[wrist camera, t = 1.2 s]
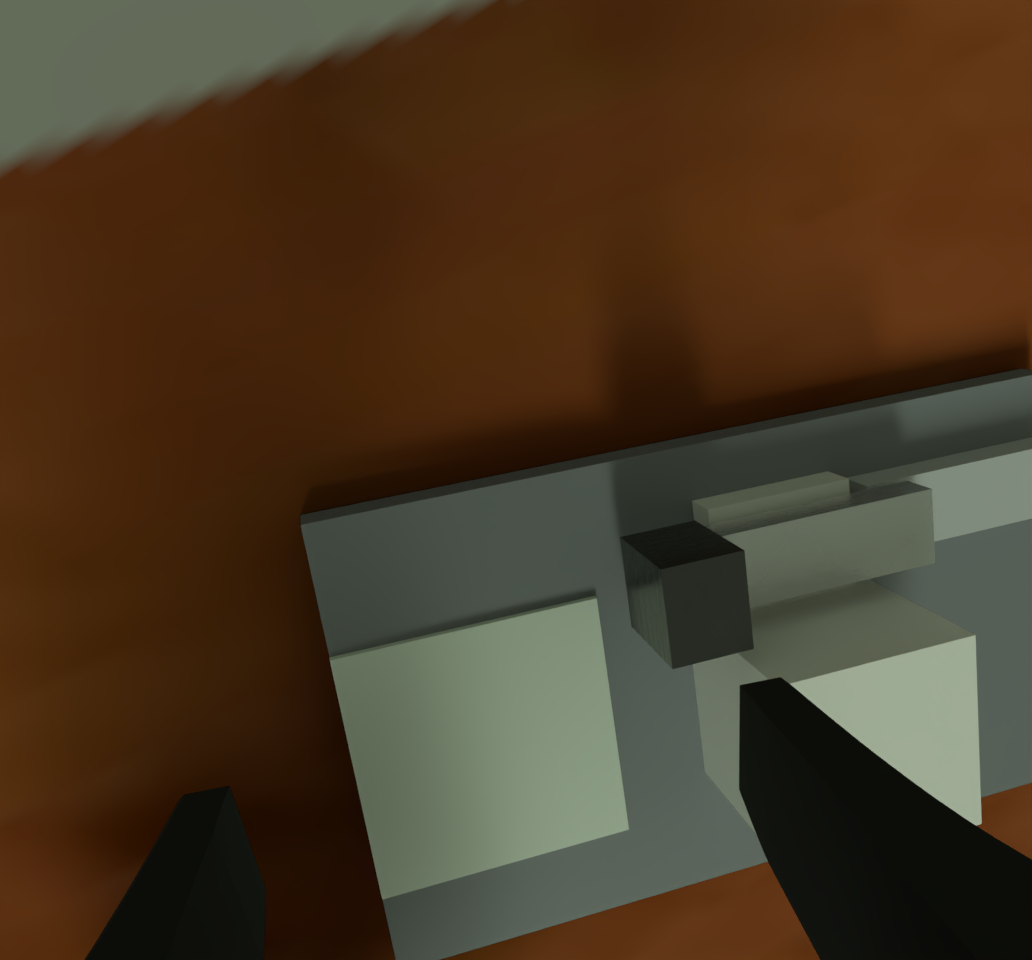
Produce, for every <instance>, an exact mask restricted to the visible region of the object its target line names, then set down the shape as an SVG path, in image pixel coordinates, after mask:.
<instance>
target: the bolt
mask: <svg viewBox="0 0 1032 960" xmlns="http://www.w3.org/2000/svg"><path fill="white" fill-rule="evenodd" d="M620 543H621V551H622V558H623V566H624V574H625V581H626V589H627V597H628V604H629V612H630V619H631V627H632V628H633V629H634V630H635V631H636V632H637V633H638V634H639V635H640V636H641V637H642V638H643V639H644V640H645V641H646V642H647V643H648V644H649V645H650V646H651V647H652V648H653V650H654V651H655V652H656V653H657V654H658V655H659V656H660V657H661V658H662V659H663V660H664V661H665V662H666V663H667V664H668V665H669V666H670V667H671V668H672V669H676V668H680V667H684V666H688V665H692V664H696V663H700V662H704V661H708V660H712V659H716V658H720V657H724V656H728V655H732V654H736V653H740V652H744V651H747V650H751V649H754V644H753V634H752V623H751V613H750V608H752V607H756V606H760V605H764V604H769V603H773V602H777V601H781V600H785V599H789V598H793V597H797V596H801V595H806V594H810V593H814V592H818V591H822V590H826V589H830V588H834V587H838V586H843V585H847V584H851V583H855V582H859V581H863V580H867V579H871V578H875V577H880V576H884V575H888V574H892V573H896V572H900V571H904V570H908V569H912V568H917V567H921V566H925V565H929V564H933V563H935V547H934V523H933V500H932V489H931V488H928V487H925V486H922V485H919V484H916V483H913V482H910V481H904V482H899V483H895V484H890V485H886V486H881V487H877V488H872V489H868V490H863V491H859V492H854V493H850V494H845V495H841V496H836V497H832V498H827V499H823V500H818V501H814V502H809V503H805V504H801V505H796V506H792V507H787V508H783V509H778V510H774V511H769V512H765V513H760V514H756V515H751V516H747V517H742V518H738V519H733V520H729V521H724V522H720V523H715V524H711V525H706V526H703V525H702V524H700V523H698V522H697V521H695V520H694V521H690V522H685V523H681V524H676V525H672V526H667V527H663V528H658V529H654V530H649V531H645V532H640V533H636V534H631V535H627V536H622V537H620Z"/></svg>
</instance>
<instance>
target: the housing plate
mask: <svg viewBox="0 0 1032 960" xmlns="http://www.w3.org/2000/svg"><path fill="white" fill-rule="evenodd" d="M827 471H829V472H832V473H834V474H837V475H840V476H843V477H845V478H848V479H849V489H850V493H854V492H859V491H863V490H868V489H872V488H877V487H881V486H886V485H890V484H895V483H899V482H904V481H910V482H913V483H916V484H919V485H922V486H925V487H928V488H931V489H932V500H933V523H934V547H935V563H933V564H929V565H925V566H921V567H917V568H912V569H908V570H904V571H900V572H896V573H892V574H888V575H884V576H880V577H875V578H871V579H869V580H871V581H873V582H875V583H877V584H879V585H881V586H883V587H885V588H887V589H888V590H890V591H892V592H894V593H896V594H898V595H900V596H902V597H904V598H906V599H908V600H909V601H911V602H913V603H915V604H917V605H919V606H921V607H923V608H925V609H927V610H929V611H931V612H932V613H934V614H936V615H938V616H940V617H942V618H944V619H946V620H948V621H950V622H952V623H953V624H955V625H957V626H959V627H961V628H963V629H965V630H967V631H969V632H971V633H973V634H975V635H976V665H977V696H978V727H979V758H980V789H981V797H985V796H988V795H991V794H995V793H998V792H1001V791H1005V790H1008V789H1011V788H1015V787H1018V786H1021V785H1025V784H1028V783H1031V782H1032V370H1027V369H1017V370H1012V371H1007V372H1002V373H997V374H992V375H987V376H982V377H978V378H973V379H968V380H963V381H958V382H953V383H948V384H943V385H938V386H933V387H928V388H923V389H918V390H914V391H909V392H904V393H899V394H894V395H889V396H884V397H879V398H874V399H869V400H864V401H859V402H854V403H850V404H845V405H840V406H835V407H830V408H825V409H820V410H815V411H810V412H805V413H800V414H795V415H790V416H786V417H781V418H776V419H771V420H766V421H761V422H756V423H751V424H746V425H741V426H736V427H731V428H727V429H722V430H717V431H712V432H707V433H702V434H697V435H692V436H687V437H682V438H677V439H672V440H667V441H663V442H658V443H653V444H648V445H643V446H638V447H633V448H628V449H623V450H618V451H613V452H608V453H603V454H599V455H594V456H589V457H584V458H579V459H574V460H569V461H564V462H559V463H554V464H549V465H544V466H540V467H535V468H530V469H525V470H520V471H515V472H510V473H505V474H500V475H495V476H490V477H485V478H480V479H476V480H471V481H466V482H461V483H456V484H451V485H446V486H441V487H436V488H431V489H426V490H421V491H416V492H412V493H407V494H402V495H397V496H392V497H387V498H382V499H377V500H372V501H367V502H362V503H357V504H352V505H348V506H343V507H338V508H333V509H328V510H323V511H318V512H313V513H308V514H303V515H301V522H300V525H301V530H302V534H303V539H304V543H305V548H306V553H307V557H308V562H309V566H310V571H311V575H312V580H313V584H314V589H315V594H316V598H317V603H318V607H319V612H320V616H321V621H322V626H323V630H324V635H325V639H326V644H327V648H328V653H329V657H330V664H331V669H332V673H333V678H334V682H335V687H336V691H337V696H338V701H339V705H340V710H341V714H342V719H343V723H344V728H345V732H346V737H347V742H348V746H349V751H350V755H351V760H352V764H353V769H354V774H355V778H356V783H357V787H358V792H359V796H360V801H361V805H362V810H363V815H364V819H365V824H366V828H367V833H368V837H369V842H370V846H371V851H372V856H373V860H374V865H375V869H376V874H377V878H378V883H379V888H380V892H381V897H382V900H383V904H384V908H385V913H386V918H387V922H388V927H389V931H390V936H391V940H392V945H393V949H394V954H395V959H396V960H440V959H444V958H447V957H450V956H454V955H457V954H460V953H464V952H467V951H470V950H474V949H477V948H480V947H484V946H487V945H490V944H494V943H497V942H500V941H504V940H507V939H510V938H514V937H517V936H520V935H524V934H527V933H531V932H534V931H537V930H541V929H544V928H547V927H551V926H554V925H557V924H561V923H564V922H567V921H571V920H574V919H577V918H581V917H584V916H587V915H591V914H594V913H597V912H601V911H604V910H607V909H611V908H614V907H617V906H621V905H624V904H627V903H631V902H634V901H637V900H641V899H644V898H647V897H651V896H654V895H657V894H661V893H664V892H667V891H671V890H674V889H677V888H681V887H684V886H687V885H691V884H694V883H697V882H701V881H704V880H707V879H711V878H714V877H717V876H721V875H724V874H727V873H731V872H734V871H737V870H741V869H744V868H747V867H751V866H754V865H758V864H761V863H764V862H768V860H767V858H766V856H765V854H764V852H763V849H762V847H761V844H760V842H759V839H758V837H757V834H756V833H755V832H754V831H753V829H752V828H751V827H750V826H749V825H748V823H747V822H746V821H745V820H744V819H743V817H742V816H741V815H740V814H739V813H738V811H737V810H736V809H735V808H734V806H733V805H732V804H731V803H730V802H729V800H728V799H727V798H726V797H725V796H724V794H723V793H722V792H721V791H720V789H719V788H718V787H717V786H716V785H715V783H714V782H713V781H712V780H711V779H710V777H709V776H708V775H707V774H706V772H705V768H704V759H703V750H702V742H701V733H700V724H699V715H698V707H697V698H696V689H695V681H694V672H693V664H692V665H688V666H684V667H680V668H676V669H672V668H671V667H670V666H669V665H668V664H667V663H666V662H665V661H664V660H663V659H662V658H661V657H660V656H659V655H658V654H657V653H656V652H655V651H654V650H653V648H652V647H651V646H650V645H649V644H648V643H647V642H646V641H645V640H644V639H643V638H642V637H641V636H640V635H639V634H638V633H637V632H636V631H635V630H634V629H633V628H632V627H631V619H630V612H629V604H628V597H627V589H626V581H625V574H624V566H623V558H622V551H621V543H620V537H622V536H627V535H631V534H636V533H640V532H645V531H649V530H654V529H658V528H663V527H667V526H672V525H676V524H681V523H685V522H690V521H694V515H693V506H692V501H693V500H698V499H702V498H707V497H712V496H716V495H721V494H725V493H730V492H735V491H739V490H744V489H748V488H753V487H758V486H762V485H767V484H771V483H776V482H781V481H785V480H790V479H794V478H799V477H804V476H808V475H813V474H817V473H822V472H827Z"/></svg>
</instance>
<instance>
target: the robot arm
mask: <svg viewBox="0 0 1032 960" xmlns="http://www.w3.org/2000/svg"><path fill="white" fill-rule="evenodd" d="M739 791H740V793H741V796H742V798H743V801H744V804H745V806H746V809H747V811H748V814H749V817H750V819H751V822H752V825H753V827H754V830H755V832H756V834H757V837H758V839H759V842H760V844H761V847H762V849H763V852H764V854H765V856H766V858H767V860H768V862H769V864H770V866H771V868H772V870H773V872H774V874H775V876H776V878H777V879H778V881H779V883H780V885H781V887H782V889H783V891H784V893H785V894H786V896H787V898H788V900H789V902H790V904H791V906H792V908H793V910H794V911H795V913H796V915H797V917H798V919H799V921H800V922H801V924H802V926H803V928H804V930H805V932H806V934H807V935H808V937H809V939H810V941H811V943H812V945H813V947H814V948H815V950H816V952H817V954H818V956H819V958H820V960H1032V860H1031V859H1030V858H1028V857H1026V856H1025V855H1023V854H1021V853H1019V852H1018V851H1016V850H1014V849H1013V848H1011V847H1009V846H1008V845H1006V844H1004V843H1003V842H1001V841H999V840H998V839H996V838H994V837H993V836H991V835H990V834H988V833H986V832H985V831H983V830H982V829H980V828H979V827H977V826H976V825H974V824H973V823H971V822H969V821H968V820H966V819H965V818H964V817H962V816H961V815H959V814H958V813H956V812H955V811H953V810H952V809H950V808H949V807H948V806H946V805H945V804H943V803H942V802H940V801H939V800H937V799H936V798H934V797H933V796H932V795H930V794H929V793H927V792H926V791H925V790H923V789H922V788H921V787H919V786H918V785H916V784H915V783H914V782H912V781H911V780H910V779H908V778H907V777H906V776H904V775H903V774H902V773H900V772H899V771H898V770H896V769H895V768H894V767H892V766H891V765H890V764H888V763H887V762H886V761H884V760H883V759H882V758H881V757H879V756H878V755H877V754H875V753H874V752H873V751H871V750H870V749H869V748H868V747H866V746H865V745H864V744H862V743H861V742H860V741H859V740H857V739H856V738H855V737H854V736H852V735H851V734H850V733H849V732H848V731H846V730H845V729H844V728H843V727H841V726H840V725H839V724H838V723H836V722H835V721H834V720H833V719H832V718H830V717H829V716H828V715H827V714H825V713H824V712H823V711H822V710H821V709H819V708H818V707H817V706H816V705H815V704H813V703H812V702H811V701H810V700H809V699H807V698H806V697H805V696H804V695H803V694H801V693H800V692H799V691H798V690H797V689H795V688H794V687H793V686H792V685H790V684H789V683H788V682H787V681H785V680H784V679H783V678H781V677H778V678H773V679H768V680H763V681H758V682H753V683H748V684H743V685H740V711H739ZM264 937H265V886H264V883H263V880H262V877H261V875H260V872H259V869H258V866H257V863H256V860H255V857H254V855H253V852H252V849H251V846H250V843H249V840H248V838H247V835H246V832H245V829H244V826H243V823H242V821H241V818H240V815H239V812H238V809H237V806H236V804H235V801H234V798H233V795H232V792H231V789H230V786H226V787H221V788H215V789H210V790H205V791H200V792H195V793H190V794H185V795H183V797H182V798H181V799H180V800H179V802H178V803H177V805H176V807H175V808H174V810H173V812H172V814H171V815H170V817H169V819H168V821H167V823H166V824H165V826H164V828H163V830H162V832H161V833H160V835H159V837H158V839H157V841H156V842H155V844H154V846H153V848H152V849H151V851H150V853H149V855H148V856H147V858H146V860H145V862H144V863H143V865H142V867H141V869H140V870H139V872H138V874H137V875H136V877H135V879H134V881H133V882H132V884H131V886H130V887H129V889H128V891H127V892H126V894H125V896H124V897H123V899H122V901H121V902H120V904H119V906H118V907H117V909H116V910H115V912H114V914H113V915H112V917H111V919H110V920H109V922H108V923H107V925H106V927H105V928H104V930H103V932H102V933H101V935H100V936H99V938H98V940H97V941H96V943H95V944H94V946H93V948H92V949H91V951H90V952H89V954H88V955H87V957H86V958H85V960H264Z"/></svg>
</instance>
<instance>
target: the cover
mask: <svg viewBox="0 0 1032 960" xmlns="http://www.w3.org/2000/svg"><path fill="white" fill-rule="evenodd" d="M845 494H850V489H849V479H848V478H845V477H843V476H840V475H837V474H834V473H832V472H829V471H827V472H822V473H817V474H813V475H808V476H804V477H799V478H794V479H790V480H785V481H781V482H776V483H771V484H767V485H762V486H758V487H753V488H748V489H744V490H739V491H735V492H730V493H725V494H721V495H716V496H712V497H707V498H702V499H698V500H693V501H692V506H693V515H694V520H695V521H697V522H698V523H700V524H702V525H703V526H706V525H711V524H715V523H720V522H724V521H729V520H733V519H738V518H742V517H747V516H751V515H756V514H760V513H765V512H769V511H774V510H778V509H783V508H787V507H792V506H796V505H801V504H805V503H809V502H814V501H818V500H823V499H827V498H832V497H836V496H841V495H845ZM750 613H751V623H752V634H753V644H754V649H751V650H747V651H744V652H740V653H736V654H732V655H728V656H724V657H720V658H716V659H712V660H708V661H704V662H700V663H696V664H693V672H694V681H695V689H696V698H697V707H698V715H699V724H700V733H701V742H702V750H703V759H704V768H705V772H706V774H707V775H708V776H709V777H710V779H711V780H712V781H713V782H714V783H715V785H716V786H717V787H718V788H719V789H720V791H721V792H722V793H723V794H724V796H725V797H726V798H727V799H728V800H729V802H730V803H731V804H732V805H733V806H734V808H735V809H736V810H737V811H738V813H739V814H740V815H741V816H742V817H743V819H744V820H745V821H746V822H747V823H748V825H749V826H750V827H751V828H752V829H753V831H754V832H755V830H754V827H753V825H752V822H751V819H750V817H749V814H748V811H747V809H746V806H745V804H744V801H743V798H742V796H741V793H740V791H739V711H740V685H743V684H748V683H753V682H758V681H763V680H768V679H773V678H778V677H781V678H783V679H784V680H785V681H787V682H788V683H789V684H790V685H792V686H793V687H794V688H795V689H797V690H798V691H799V692H800V693H801V694H803V695H804V696H805V697H806V698H807V699H809V700H810V701H811V702H812V703H813V704H815V705H816V706H817V707H818V708H819V709H821V710H822V711H823V712H824V713H825V714H827V715H828V716H829V717H830V718H832V719H833V720H834V721H835V722H836V723H838V724H839V725H840V726H841V727H843V728H844V729H845V730H846V731H848V732H849V733H850V734H851V735H852V736H854V737H855V738H856V739H857V740H859V741H860V742H861V743H862V744H864V745H865V746H866V747H868V748H869V749H870V750H871V751H873V752H874V753H875V754H877V755H878V756H879V757H881V758H882V759H883V760H884V761H886V762H887V763H888V764H890V765H891V766H892V767H894V768H895V769H896V770H898V771H899V772H900V773H902V774H903V775H904V776H906V777H907V778H908V779H910V780H911V781H912V782H914V783H915V784H916V785H918V786H919V787H921V788H922V789H923V790H925V791H926V792H927V793H929V794H930V795H932V796H933V797H934V798H936V799H937V800H939V801H940V802H942V803H943V804H945V805H946V806H948V807H949V808H950V809H952V810H953V811H955V812H956V813H958V814H959V815H961V816H962V817H964V818H965V819H966V820H968V821H969V822H971V823H973V824H974V825H980V824H982V820H981V789H980V758H979V727H978V696H977V665H976V635H975V634H973V633H971V632H969V631H967V630H965V629H963V628H961V627H959V626H957V625H955V624H953V623H952V622H950V621H948V620H946V619H944V618H942V617H940V616H938V615H936V614H934V613H932V612H931V611H929V610H927V609H925V608H923V607H921V606H919V605H917V604H915V603H913V602H911V601H909V600H908V599H906V598H904V597H902V596H900V595H898V594H896V593H894V592H892V591H890V590H888V589H887V588H885V587H883V586H881V585H879V584H877V583H875V582H873V581H871V580H869V579H867V580H863V581H859V582H855V583H851V584H847V585H843V586H838V587H834V588H830V589H826V590H822V591H818V592H814V593H810V594H806V595H801V596H797V597H793V598H789V599H785V600H781V601H777V602H773V603H769V604H764V605H760V606H756V607H752V608H750ZM755 833H756V832H755Z"/></svg>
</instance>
